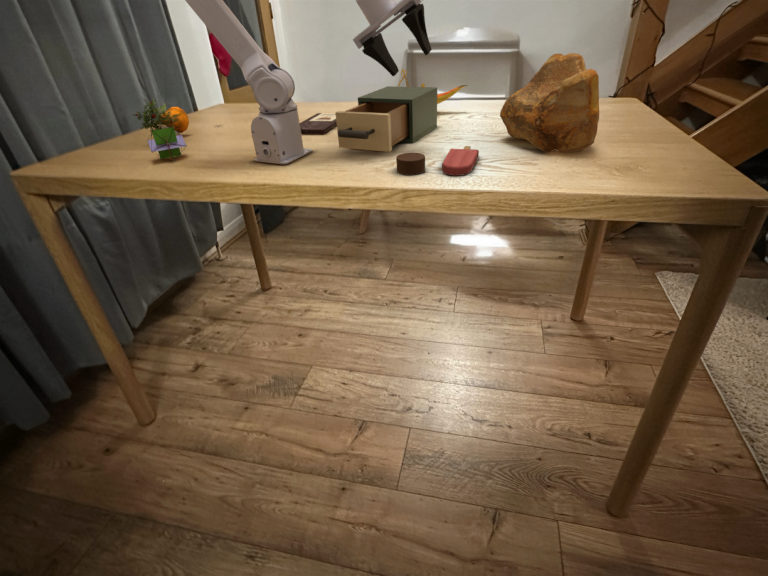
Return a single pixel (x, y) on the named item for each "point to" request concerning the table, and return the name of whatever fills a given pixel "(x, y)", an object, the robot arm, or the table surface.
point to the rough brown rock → (556, 106)
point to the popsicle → (460, 161)
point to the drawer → (373, 126)
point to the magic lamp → (440, 97)
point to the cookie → (410, 163)
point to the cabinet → (410, 107)
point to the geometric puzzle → (166, 142)
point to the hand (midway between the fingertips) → (411, 63)
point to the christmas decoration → (164, 117)
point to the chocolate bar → (318, 123)
